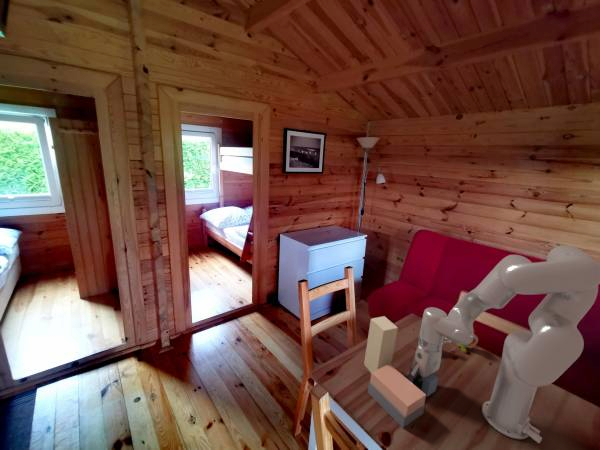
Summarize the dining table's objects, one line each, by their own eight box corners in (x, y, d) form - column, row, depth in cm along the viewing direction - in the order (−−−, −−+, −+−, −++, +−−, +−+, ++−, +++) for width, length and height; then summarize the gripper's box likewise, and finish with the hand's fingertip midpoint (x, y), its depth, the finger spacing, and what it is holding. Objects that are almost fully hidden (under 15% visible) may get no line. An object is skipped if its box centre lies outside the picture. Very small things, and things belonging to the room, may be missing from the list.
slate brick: (435, 391, 98) (438, 377, 97) (427, 396, 96) (430, 382, 94) (416, 375, 105) (418, 362, 104) (407, 380, 102) (410, 367, 101)
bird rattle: (463, 347, 127) (448, 341, 125) (476, 327, 125) (462, 321, 123) (473, 356, 121) (458, 350, 119) (487, 336, 119) (472, 329, 117)
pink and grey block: (422, 413, 89) (427, 394, 87) (402, 428, 84) (406, 407, 82) (387, 381, 101) (390, 363, 99) (367, 392, 96) (370, 373, 94)
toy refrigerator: (391, 375, 105) (399, 327, 100) (376, 379, 102) (383, 330, 97) (378, 360, 112) (385, 315, 107) (363, 364, 109) (370, 318, 104)
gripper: (424, 357, 88) (415, 402, 93) (454, 341, 97) (444, 383, 102) (405, 343, 95) (397, 386, 99) (434, 329, 103) (426, 369, 108)
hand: (421, 384), depth 100 cm, fingers closed on slate brick, 5 cm apart
